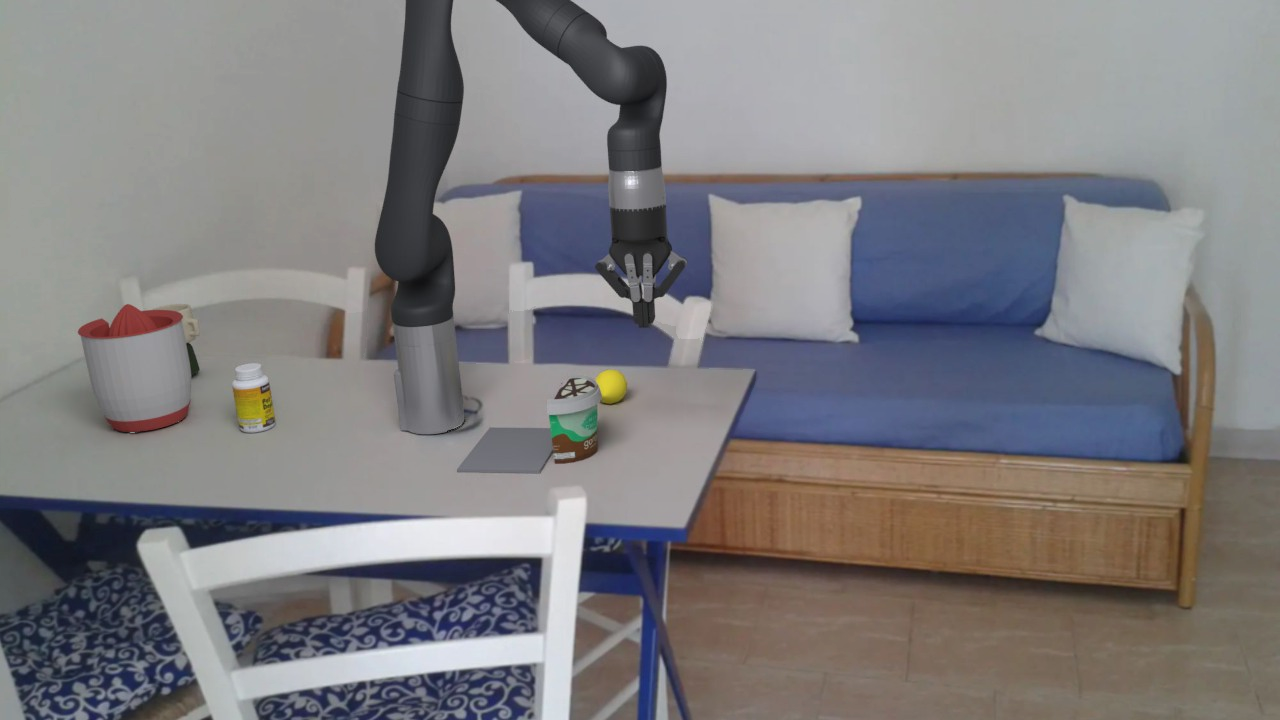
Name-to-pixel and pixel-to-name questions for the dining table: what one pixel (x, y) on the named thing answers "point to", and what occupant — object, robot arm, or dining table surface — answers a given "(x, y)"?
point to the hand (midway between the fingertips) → (645, 326)
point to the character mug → (187, 330)
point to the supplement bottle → (253, 399)
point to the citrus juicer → (139, 368)
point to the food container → (574, 419)
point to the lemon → (611, 386)
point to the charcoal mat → (510, 451)
